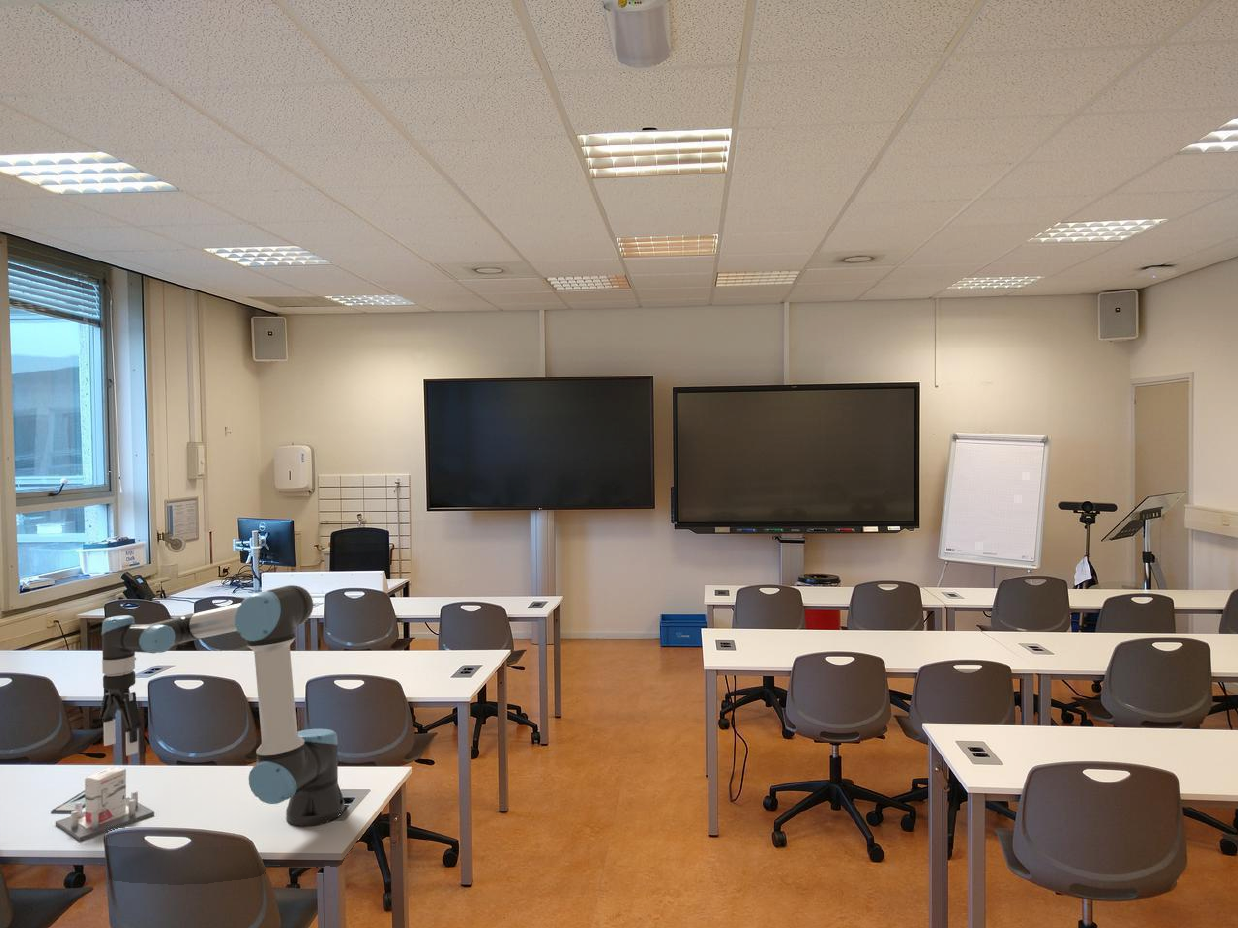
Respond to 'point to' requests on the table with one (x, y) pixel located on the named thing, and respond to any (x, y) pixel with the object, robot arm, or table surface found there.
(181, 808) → the table surface
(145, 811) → the pin tray
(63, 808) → the smartphone
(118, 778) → the ink box
